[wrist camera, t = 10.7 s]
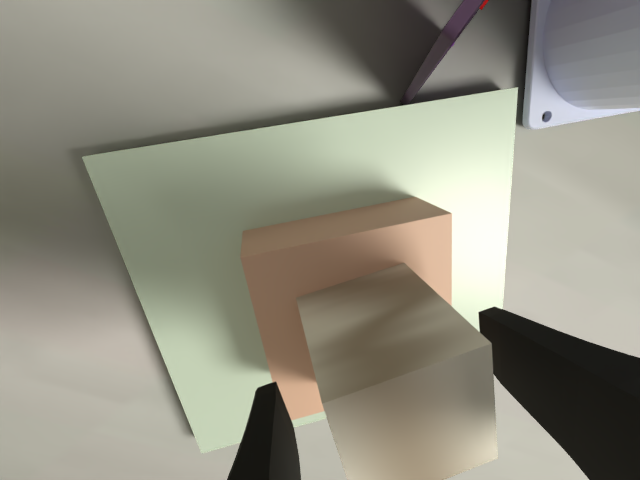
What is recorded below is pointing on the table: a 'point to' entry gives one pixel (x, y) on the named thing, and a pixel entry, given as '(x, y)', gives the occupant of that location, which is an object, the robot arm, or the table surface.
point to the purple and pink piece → (443, 44)
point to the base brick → (334, 275)
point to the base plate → (289, 205)
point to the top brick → (400, 378)
